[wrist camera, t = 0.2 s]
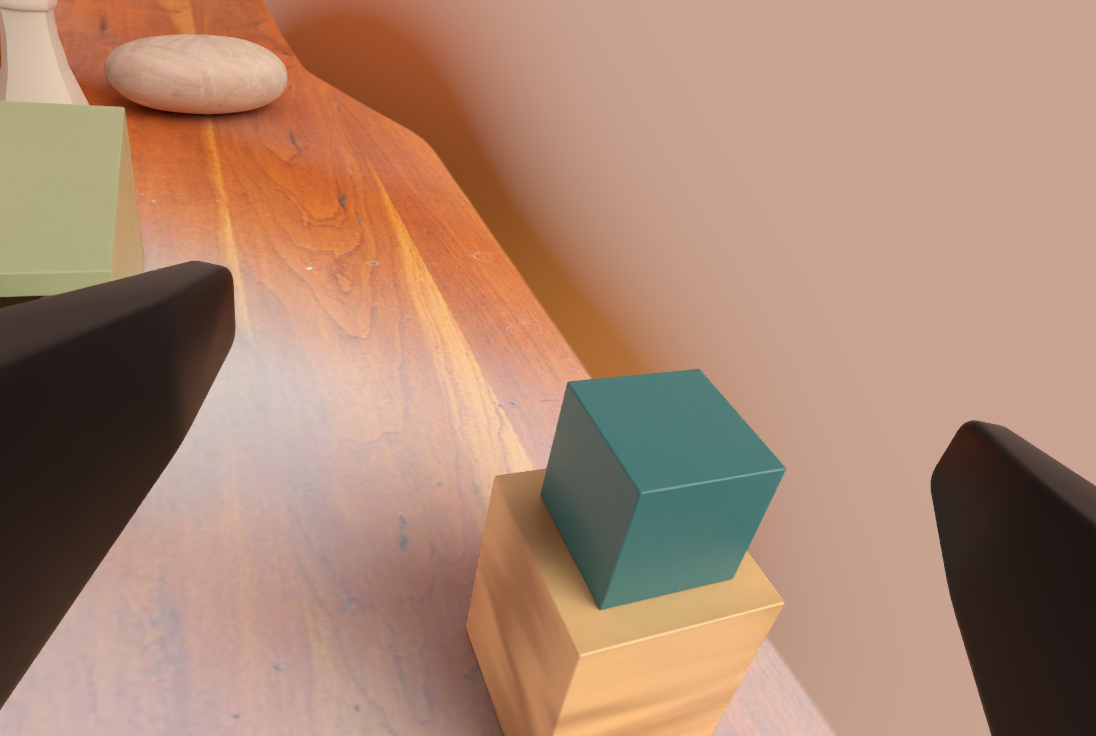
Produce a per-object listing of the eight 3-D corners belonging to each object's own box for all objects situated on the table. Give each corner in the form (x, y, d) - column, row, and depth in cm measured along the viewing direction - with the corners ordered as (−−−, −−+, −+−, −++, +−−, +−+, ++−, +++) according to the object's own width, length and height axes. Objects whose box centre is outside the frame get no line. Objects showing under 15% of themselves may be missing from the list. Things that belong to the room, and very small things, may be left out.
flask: (-24, 194, 43) (-74, 1, 37) (-9, 145, 48) (-51, -31, 42) (123, 194, 46) (98, 15, 40) (122, 148, 51) (100, -16, 45)
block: (733, 580, 20) (787, 468, 18) (599, 611, 18) (639, 493, 16) (660, 475, 23) (699, 368, 21) (539, 494, 21) (566, 380, 19)
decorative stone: (123, 132, 53) (113, 57, 50) (99, 89, 58) (88, 19, 56) (306, 127, 60) (306, 61, 57) (269, 89, 65) (267, 27, 63)
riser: (706, 745, 24) (786, 602, 20) (528, 806, 21) (578, 656, 17) (621, 591, 28) (672, 449, 24) (464, 627, 26) (493, 475, 22)
